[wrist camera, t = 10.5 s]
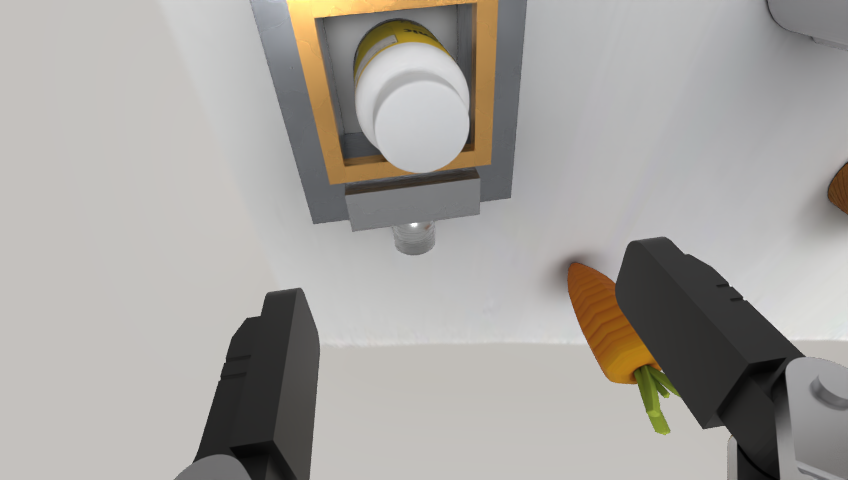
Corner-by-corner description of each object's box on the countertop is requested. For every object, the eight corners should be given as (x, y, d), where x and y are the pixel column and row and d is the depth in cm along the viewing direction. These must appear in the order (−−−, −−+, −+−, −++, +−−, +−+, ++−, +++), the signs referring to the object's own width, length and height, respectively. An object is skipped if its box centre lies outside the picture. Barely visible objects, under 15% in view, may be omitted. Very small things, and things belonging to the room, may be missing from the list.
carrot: (578, 233, 35) (696, 391, 23) (609, 258, 37) (730, 413, 26) (535, 270, 37) (622, 433, 25) (567, 291, 39) (660, 449, 27)
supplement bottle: (460, 71, 25) (510, 136, 18) (394, 127, 27) (413, 210, 19) (404, -8, 22) (433, 30, 15) (333, 61, 24) (326, 128, 16)
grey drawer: (507, -43, 22) (541, -35, 18) (493, 217, 32) (513, 257, 28) (259, -21, 21) (239, -8, 17) (328, 239, 31) (325, 285, 28)
